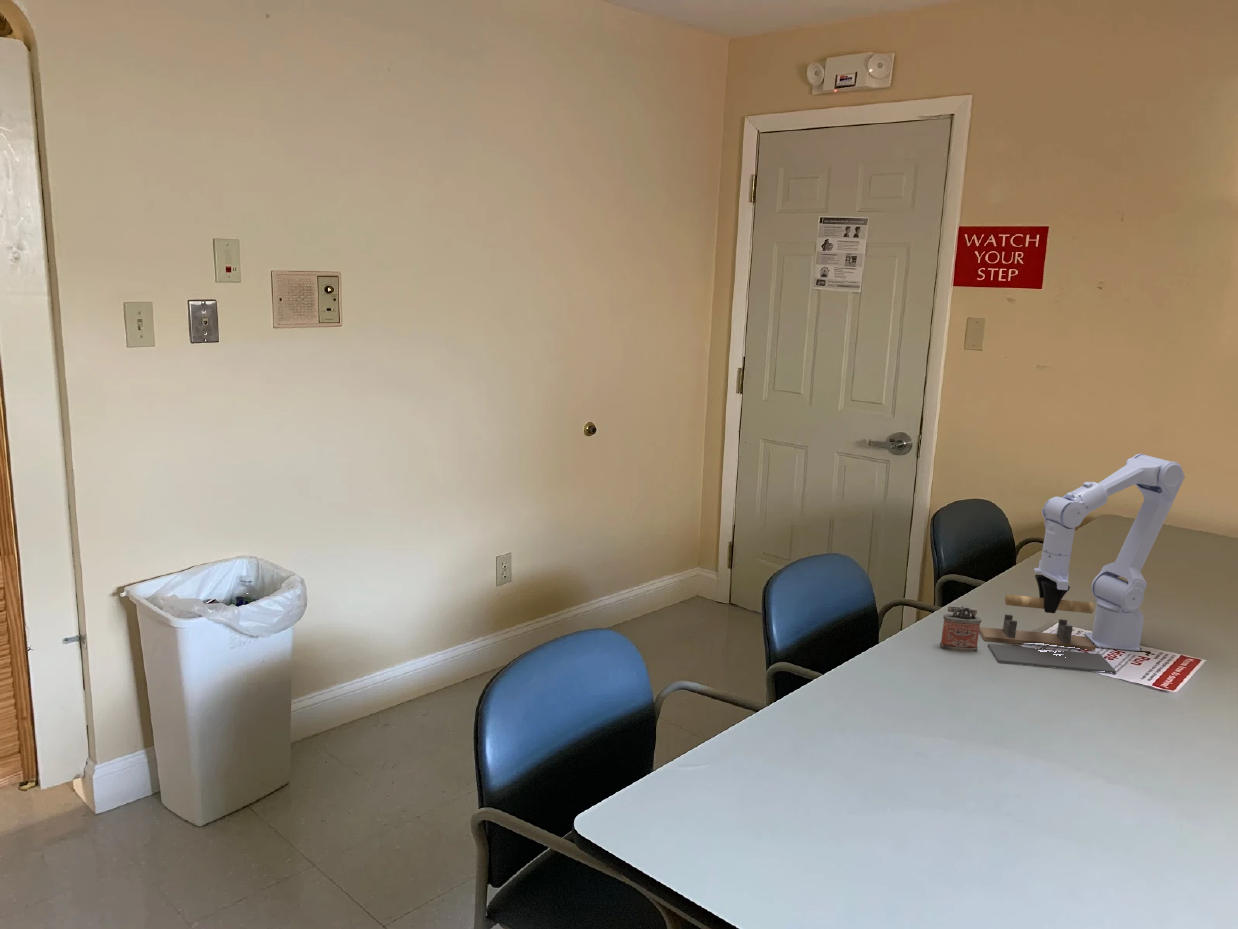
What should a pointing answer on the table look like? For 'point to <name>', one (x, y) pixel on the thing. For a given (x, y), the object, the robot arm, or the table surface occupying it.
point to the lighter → (960, 629)
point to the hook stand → (1035, 635)
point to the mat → (1050, 658)
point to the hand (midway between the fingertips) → (1047, 610)
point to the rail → (1039, 603)
